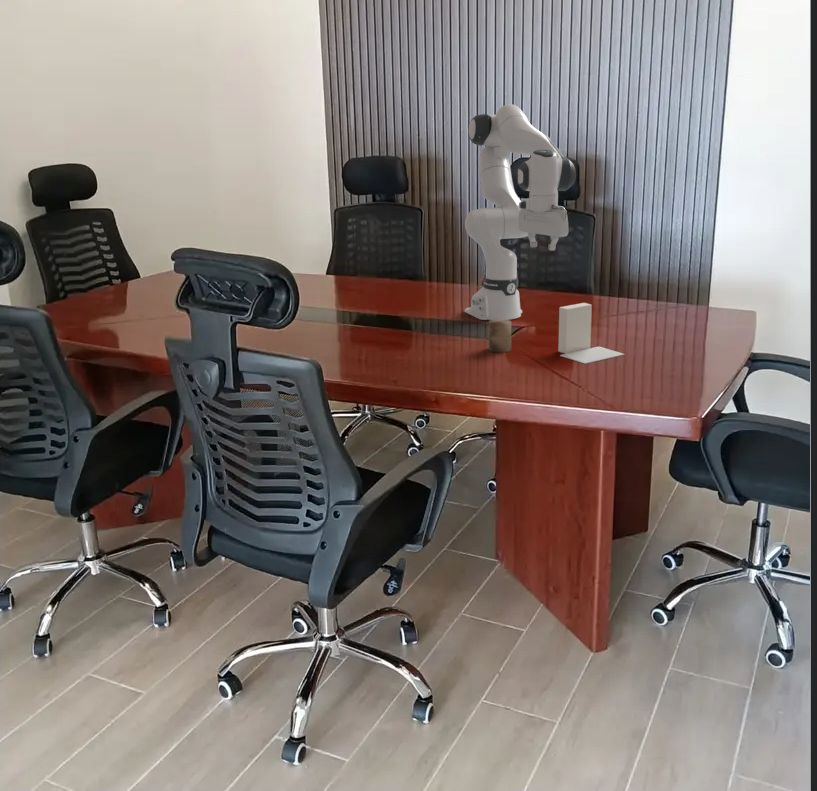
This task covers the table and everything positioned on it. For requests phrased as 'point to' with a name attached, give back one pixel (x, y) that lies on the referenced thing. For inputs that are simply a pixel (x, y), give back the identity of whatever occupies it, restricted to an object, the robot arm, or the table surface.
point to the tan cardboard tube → (499, 335)
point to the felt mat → (592, 355)
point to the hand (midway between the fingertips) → (542, 248)
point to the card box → (574, 327)
